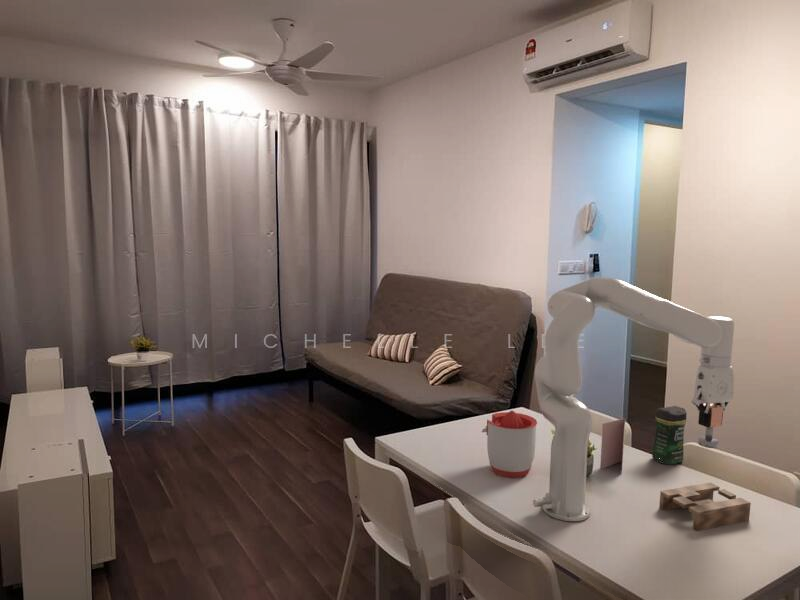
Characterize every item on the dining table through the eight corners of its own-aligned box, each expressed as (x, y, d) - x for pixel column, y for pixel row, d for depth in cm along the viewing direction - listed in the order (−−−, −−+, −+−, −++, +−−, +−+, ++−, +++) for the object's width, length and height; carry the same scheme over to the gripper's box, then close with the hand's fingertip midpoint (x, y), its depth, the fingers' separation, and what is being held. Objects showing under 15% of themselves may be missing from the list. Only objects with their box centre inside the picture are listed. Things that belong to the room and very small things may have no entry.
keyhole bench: (696, 530, 151) (698, 512, 150) (659, 507, 163) (660, 490, 162) (749, 520, 157) (750, 502, 156) (709, 499, 169) (710, 482, 168)
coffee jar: (668, 467, 191) (672, 412, 189) (648, 458, 198) (651, 405, 196) (687, 462, 196) (691, 408, 193) (667, 454, 203) (671, 402, 200)
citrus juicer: (488, 457, 198) (490, 400, 196) (539, 466, 191) (542, 407, 188) (474, 474, 184) (475, 413, 182) (529, 485, 177) (531, 421, 174)
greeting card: (620, 460, 197) (623, 417, 195) (639, 468, 190) (642, 423, 189) (598, 467, 191) (600, 423, 189) (617, 475, 184) (619, 429, 182)
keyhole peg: (709, 449, 162) (712, 408, 161) (694, 442, 167) (697, 403, 165) (722, 447, 164) (725, 407, 162) (707, 440, 168) (710, 402, 167)
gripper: (704, 366, 156) (698, 432, 158) (749, 362, 162) (743, 426, 164) (681, 360, 163) (676, 423, 165) (726, 356, 169) (720, 417, 171)
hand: (710, 424), depth 164 cm, fingers closed on keyhole peg, 4 cm apart
